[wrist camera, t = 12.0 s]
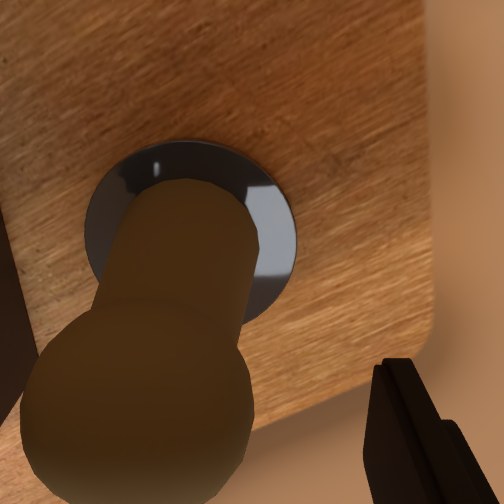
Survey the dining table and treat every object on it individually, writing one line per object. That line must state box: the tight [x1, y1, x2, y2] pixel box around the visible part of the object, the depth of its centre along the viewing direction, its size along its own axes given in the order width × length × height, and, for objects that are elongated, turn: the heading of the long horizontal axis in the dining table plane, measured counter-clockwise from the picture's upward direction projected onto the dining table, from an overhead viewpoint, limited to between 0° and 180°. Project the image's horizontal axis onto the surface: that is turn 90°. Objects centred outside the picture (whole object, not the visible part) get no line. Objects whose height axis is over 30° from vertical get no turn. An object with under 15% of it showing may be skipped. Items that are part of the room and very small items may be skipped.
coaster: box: [84, 138, 297, 325], centre depth 19 cm, size 9×9×1 cm
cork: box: [20, 178, 260, 504], centre depth 14 cm, size 6×6×11 cm
